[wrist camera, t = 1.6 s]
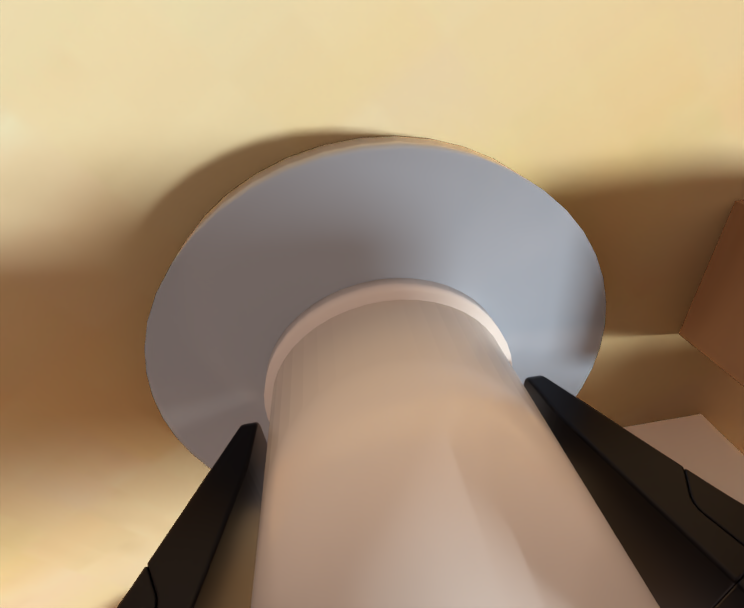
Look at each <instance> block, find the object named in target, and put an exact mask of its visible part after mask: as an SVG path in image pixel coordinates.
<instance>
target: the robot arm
mask: <svg viewBox="0 0 744 608" xmlns="http://www.w3.org/2000/svg"><path fill="white" fill-rule="evenodd" d="M524 387H525V388H526V390H527V392H528V393H529V395H530V397H531V398H532V400H533V401H534V403H535V405H536V406H537V408H538V410H539V411H540V413H541V415H542V416H543V418H544V419H545V421H546V423H547V424H548V426H549V428H550V429H551V431H552V432H553V434H554V436H555V437H556V439H557V441H558V442H559V444H560V446H561V447H562V449H563V450H564V452H565V454H566V455H567V457H568V459H569V460H570V462H571V463H572V465H573V467H574V468H575V470H576V472H577V473H578V475H579V476H580V478H581V480H582V481H583V483H584V485H585V486H586V488H587V490H588V491H589V493H590V494H591V496H592V498H593V499H594V501H595V503H596V504H597V506H598V507H599V509H600V511H601V512H602V514H603V516H604V517H605V519H606V521H607V522H608V524H609V525H610V527H611V529H612V530H613V532H614V534H615V535H616V537H617V538H618V540H619V542H620V543H621V545H622V547H623V548H624V550H625V551H626V553H627V555H628V556H629V558H630V560H631V561H632V563H633V565H634V566H635V568H636V569H637V571H638V573H639V574H640V576H641V578H642V579H643V581H644V582H645V584H646V586H647V587H648V589H649V591H650V592H651V594H652V596H653V597H654V599H655V600H656V602H657V604H658V605H659V607H660V608H744V504H742V503H740V502H739V501H737V500H735V499H734V498H732V497H730V496H729V495H727V494H726V493H724V492H722V491H721V490H719V489H718V488H716V487H714V486H713V485H711V484H710V483H708V482H706V481H705V480H703V479H702V478H700V477H699V476H697V475H696V474H694V473H692V472H691V471H689V470H688V469H684V468H683V466H681V465H680V464H678V463H677V462H675V461H674V460H672V459H671V458H669V457H668V456H666V455H665V454H663V453H661V452H660V451H658V450H657V449H655V448H654V447H652V446H651V445H649V444H648V443H646V442H645V441H643V440H641V439H640V438H638V437H637V436H635V435H634V434H632V433H631V432H629V431H628V430H626V429H625V428H623V427H621V426H620V425H618V424H617V423H615V422H614V421H612V420H611V419H609V418H608V417H606V416H605V415H603V414H601V413H600V412H598V411H597V410H595V409H594V408H592V407H591V406H589V405H588V404H586V403H585V402H583V401H581V400H580V399H578V398H577V397H575V396H574V395H572V394H571V393H569V392H568V391H566V390H565V389H563V388H561V387H560V386H558V385H557V384H555V383H554V382H552V381H551V380H549V379H548V378H546V377H544V376H542V375H538V376H532V377H527V378H526V379H525V381H524ZM266 452H267V441H266V439H265V436H264V433H263V431H262V428H261V426H260V424H259V423H258V422H253V423H247V424H243V425H241V426H240V427H239V429H238V430H237V432H236V433H235V434H234V436H233V437H232V439H231V440H230V442H229V443H228V445H227V446H226V448H225V449H224V451H223V452H222V454H221V455H220V457H219V458H218V460H217V461H216V463H215V464H214V466H213V467H212V469H211V470H210V472H209V473H208V474H207V476H206V477H205V479H204V480H203V482H202V483H201V485H200V486H199V488H198V489H197V491H196V492H195V494H194V495H193V497H192V498H191V500H190V501H189V503H188V504H187V506H186V507H185V509H184V510H183V512H182V513H181V515H180V516H179V517H178V519H177V520H176V522H175V523H174V525H173V526H172V528H171V529H170V531H169V532H168V534H167V535H166V537H165V538H164V540H163V541H162V543H161V544H160V546H159V547H158V549H157V550H156V552H155V553H154V555H153V556H152V557H151V559H150V560H149V562H148V567H145V568H144V569H143V571H142V572H141V574H140V575H139V577H138V578H137V579H136V581H135V582H134V584H133V585H132V587H131V588H130V590H129V591H128V593H127V594H126V595H125V597H124V598H123V600H122V601H121V602H120V604H119V605H118V607H117V608H251V598H252V589H253V579H254V569H255V559H256V550H257V540H258V530H259V520H260V510H261V501H262V491H263V481H264V471H265V462H266Z"/></svg>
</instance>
